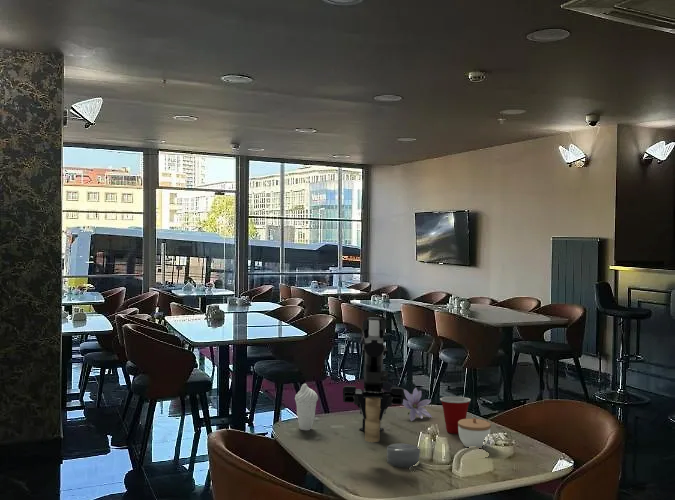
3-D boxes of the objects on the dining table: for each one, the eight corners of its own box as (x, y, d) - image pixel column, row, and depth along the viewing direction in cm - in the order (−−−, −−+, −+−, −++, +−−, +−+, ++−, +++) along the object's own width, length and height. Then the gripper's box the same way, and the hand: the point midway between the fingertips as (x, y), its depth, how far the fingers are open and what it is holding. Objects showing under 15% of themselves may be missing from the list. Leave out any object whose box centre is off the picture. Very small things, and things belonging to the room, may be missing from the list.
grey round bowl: (398, 453, 203) (399, 441, 203) (425, 461, 197) (426, 448, 197) (380, 461, 196) (380, 448, 196) (407, 469, 189) (407, 456, 189)
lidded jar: (453, 441, 218) (454, 413, 218) (484, 441, 219) (485, 413, 219) (462, 451, 207) (463, 422, 207) (494, 451, 208) (495, 422, 208)
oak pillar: (370, 436, 198) (371, 396, 198) (382, 439, 195) (383, 398, 195) (361, 440, 195) (362, 399, 194) (373, 443, 192) (374, 401, 192)
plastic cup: (460, 426, 236) (461, 393, 236) (475, 434, 226) (476, 400, 225) (433, 428, 232) (434, 395, 232) (448, 437, 222) (449, 402, 222)
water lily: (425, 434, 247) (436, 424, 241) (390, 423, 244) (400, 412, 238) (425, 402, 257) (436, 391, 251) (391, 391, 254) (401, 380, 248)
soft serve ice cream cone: (321, 427, 230) (322, 383, 230) (310, 433, 223) (311, 387, 222) (300, 424, 234) (301, 380, 233) (289, 430, 226) (290, 384, 226)
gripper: (343, 359, 199) (341, 404, 188) (404, 362, 198) (405, 407, 187) (344, 379, 207) (341, 423, 196) (402, 381, 206) (403, 425, 195)
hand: (372, 419), depth 193 cm, fingers closed on oak pillar, 4 cm apart
